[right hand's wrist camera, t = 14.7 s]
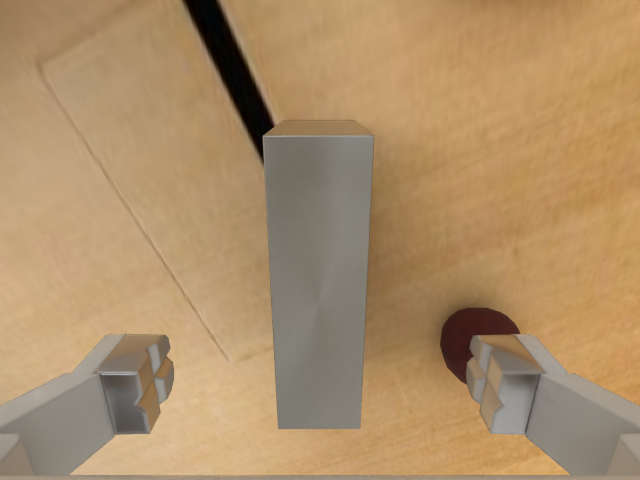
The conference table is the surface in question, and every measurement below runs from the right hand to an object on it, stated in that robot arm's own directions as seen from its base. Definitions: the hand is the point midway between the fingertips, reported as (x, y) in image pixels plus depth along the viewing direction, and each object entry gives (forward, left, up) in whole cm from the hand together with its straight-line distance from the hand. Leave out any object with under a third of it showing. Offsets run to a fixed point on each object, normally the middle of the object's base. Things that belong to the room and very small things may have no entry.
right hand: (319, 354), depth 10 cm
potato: (+3, +22, -25) cm, 34 cm away
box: (+5, +4, -25) cm, 26 cm away
